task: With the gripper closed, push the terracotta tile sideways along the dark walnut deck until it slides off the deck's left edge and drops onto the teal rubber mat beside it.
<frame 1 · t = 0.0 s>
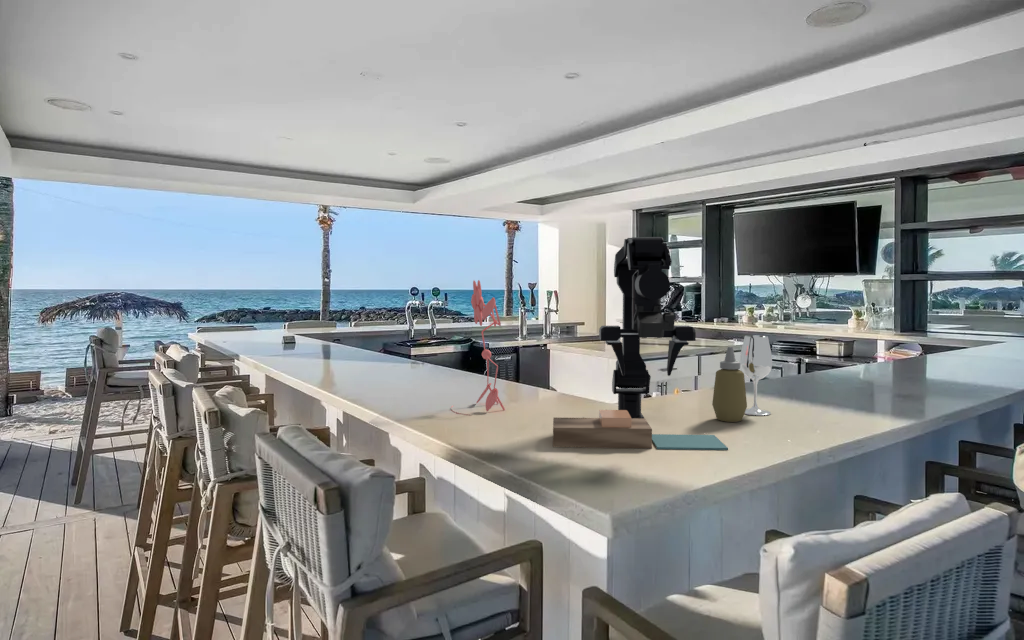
hand: (645, 375, 125), 15 cm above the countertop, tool pointing down, fingers open, 9 cm apart
tile: (614, 423, 130), point 4 cm above the countertop, touching deck
deck: (600, 441, 130), on the countertop
squeeze bottle: (729, 420, 151), on the countertop
figurine: (477, 408, 167), on the countertop
mat: (686, 442, 129), on the countertop
wineglass: (755, 413, 159), on the countertop
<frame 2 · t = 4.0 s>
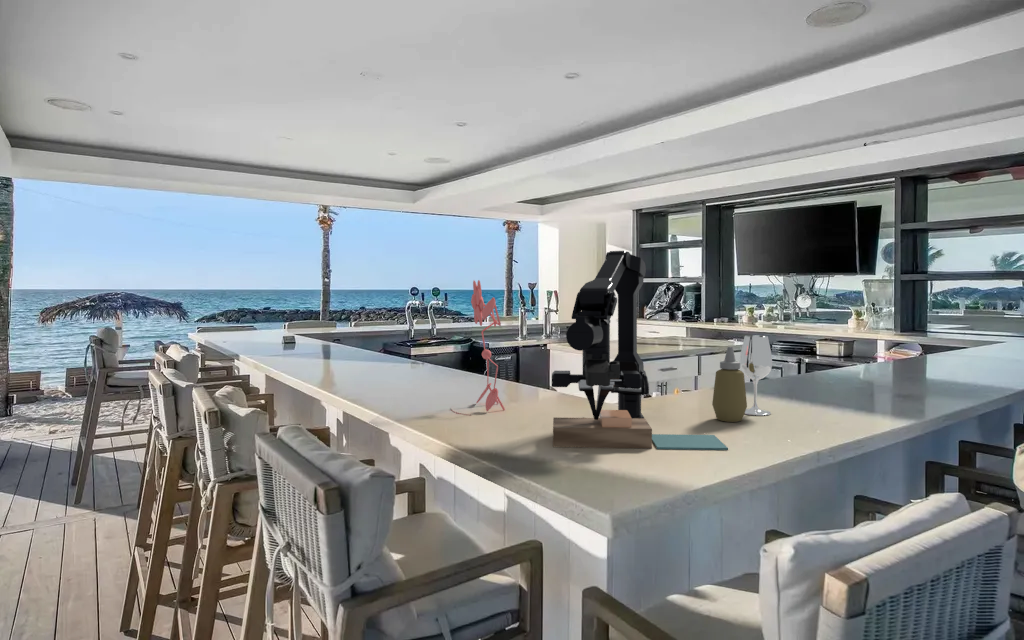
hand: (596, 419, 130), 5 cm above the countertop, tool pointing down, fingers closed
tile: (614, 423, 130), point 4 cm above the countertop, touching deck, gripper
everything else where it was.
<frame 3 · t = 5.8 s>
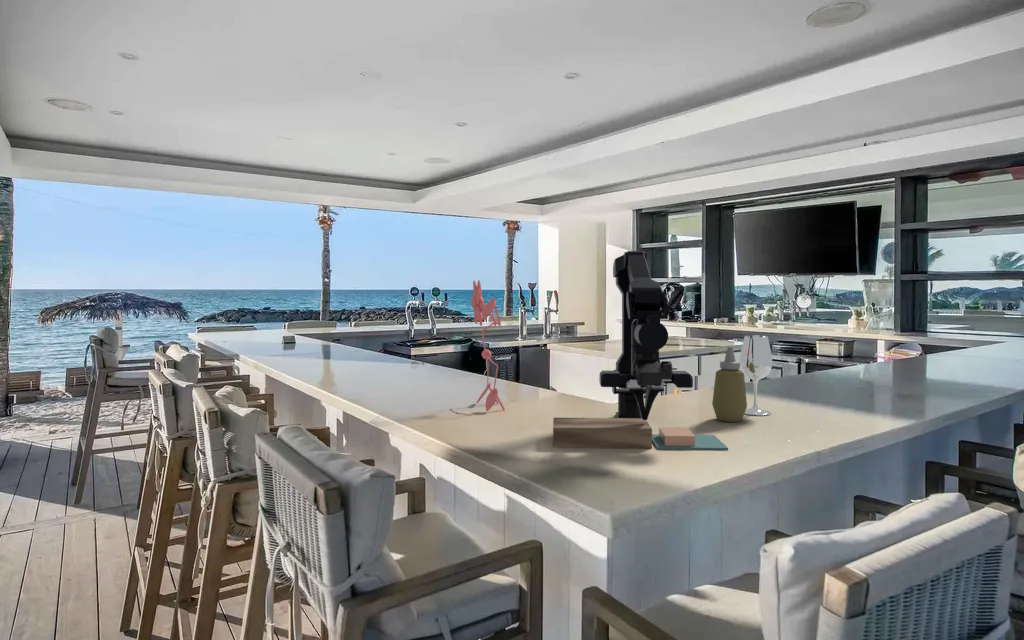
hand: (644, 419, 129), 5 cm above the countertop, tool pointing down, fingers closed
tile: (676, 431, 129), point 2 cm above the countertop, tilted 180°, touching mat
everything else where it was.
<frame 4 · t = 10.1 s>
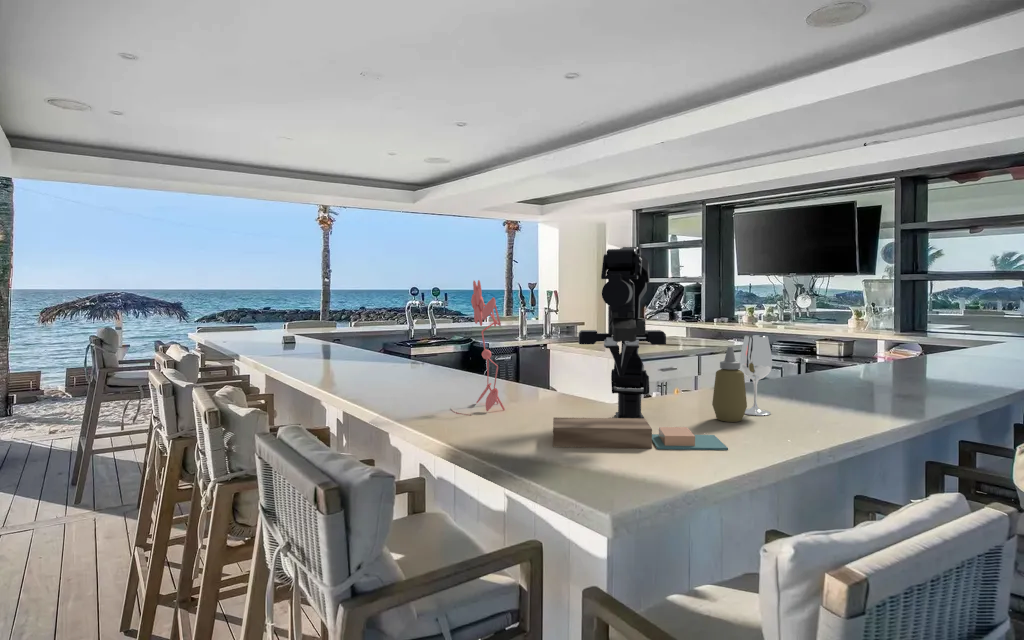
hand: (621, 376, 136), 13 cm above the countertop, tool pointing down, fingers closed
nothing on the countertop moved.
at the end: tile inside the target area (2.7 cm from its centre), point 2.4 cm above the countertop; tile touching mat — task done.
